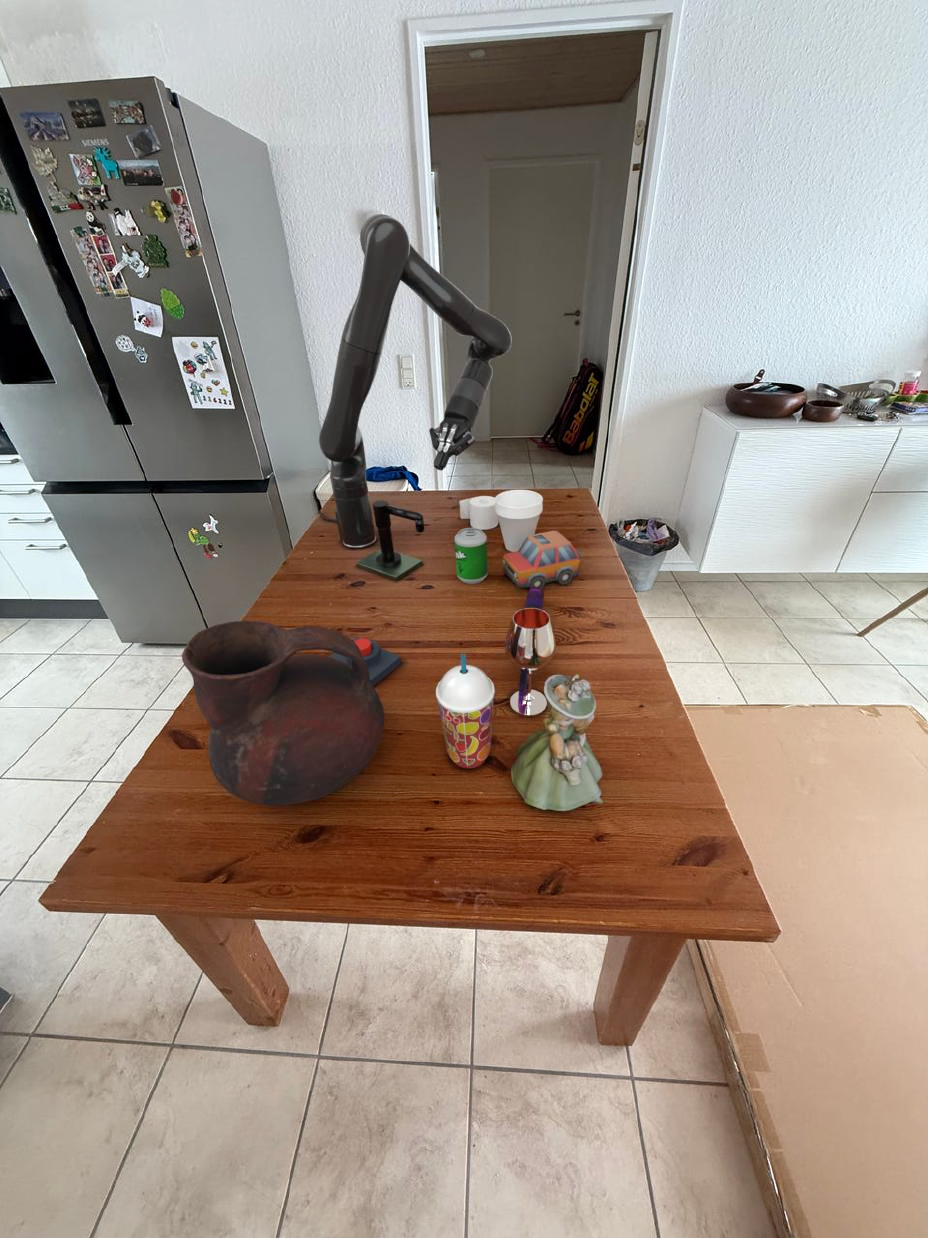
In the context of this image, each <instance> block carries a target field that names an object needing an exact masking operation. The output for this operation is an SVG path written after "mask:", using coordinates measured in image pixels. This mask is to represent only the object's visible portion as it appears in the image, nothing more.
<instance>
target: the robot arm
mask: <svg viewBox="0 0 928 1238" xmlns="http://www.w3.org/2000/svg"><path fill="white" fill-rule="evenodd" d="M359 232H360V234H359V241H360V247H361V251H362V252H363V253H362V254H363V255H364V257H363V266H362V274H361V277H360V278H361V279H360V285H359V289H358V293H357V296H356V298H355V301H354V303H353V305H352V307H351V310H350V312H349V314H348V317H347V318H346V322H345V324H344V326H343V329H342V334H341V337H340V338H341V339H340V343H339V347H338V353H337V359H336V365H335V369H334V376H333V383H332V390H331V396H330V401H329V405H328V408H327V411H326V414H325V417H324V420H323V423H322V426H321V429H320V432H319V435H318V445H319V448H320V451H321V453H322V454H323V456H324V457H325V458H326V459H327V460H329V461H330V472H329V480H330V485H331V490H332V494H333V499H334V504H335V508H336V509H335V510H334V514H335V518H330V517H326V516H324V514H323V512H322V510H319V511H318V512H317V514H318V515H319V516H320V517H321V518H322V519H323V520H325V521H330V522H336V524H337V529H338V533H339V538H340V542H341V543H342V544H343V546H344V547H346V548H347V549H353V550H354V549H355V550H356V549H357V550H359V549H364V548H368V547H371V546H372V545H374V544H375V543H376V542H377V535H376V529H375V527H376V523H375V521H374V515H373V511H372V510H373V509H372V506H371V505H372V504H371V499H370V491H369V488H368V481H367V460H366V452H365V446H364V445H365V444H364V438H363V433H362V431H361V428H360V426H359V420H360V416H361V412H362V409H363V406H364V404H365V401H366V399H367V397H368V395H369V393H370V391H371V389H372V386H373V384H374V381H375V378H376V376H377V373H378V369H379V365H380V362H381V358H382V356H383V351H384V346H385V340H386V336H387V333H388V327H389V323H390V317H391V311H392V307H393V304H394V301H395V297H396V294H397V292H398V289H399V285H400V283H401V282H402V283H404V285H405V286H407V287H408V288H409V289H410V290H411V291H413V292H414V293H415V294H416V295H417V296H418V297H419V298H420V299H421V300H422V301H423V302H424V303H425V304H426V305H427V307H428V308H430V309H431V310H432V311H433V312H434V313H435V315H436V316H437V317H439V318H440V319H441V320H442V321H443V322H444V323H445V324H447V326H448V327H450V328H451V330H453V331H454V332H456V333H457V334H458V335H460V336H461V337H471V339H470V340H469V344H468V349H467V353H466V360H465V366H464V368H463V370H462V373H461V375H460V377H459V380H458V382H457V383H456V385H455V387H454V388H453V391H452V394H451V395H450V398H449V400H448V403H447V405H446V407H445V410H444V414H443V420H442V421H441V422H440V423H439V426H438V427H436V428H434V427H430V428H429V430H428V431H429V436H430V440H431V444H432V448H433V449H434V451H436V452H437V453H436V455H435V458H434V461H433V467H434V468H435V469H436V470H437V471H444V469H446V467H447V465H448V462H449V460H450V458H452V456H455V457H458V456H459V455H461V454H462V453H463V452H465V451H466V450H467V449H468V448H470V446H472V445H474V443H476V439H475V438H474V435H472V434H471V432H472V428H473V426H474V425H475V423H476V420H477V417H478V415H479V413H480V410H481V408H482V406H483V403H484V400H485V396H486V394H487V391H488V388H489V386H490V383H491V381H492V378H493V375H494V370H493V367H492V365H491V364H490V362H491V361H492V360H493V359H495V358H498V357H502V356H504V355H505V354H508V352H509V351H510V350H511V347H512V344H513V338H512V333H511V331H510V330H509V328H508V327H507V325H506V324H505V323H504V322H503V321H502V320H500V319H499V318H497V317H496V316H494V315H492V314H490V313H489V312H487V311H485V310H484V309H482V308H479V307H478V306H477V305H475V303H474V302H473V301H472V300H471V299H470V298H469V297H468V296H467V295H465V294H464V292H462V291H461V290H460V289H459V288H458V287H457V286H456V285H455V284H454V283H452V282H451V281H450V280H449V279H447V278H446V277H445V276H444V275H442V274H441V273H440V272H439V271H438V270H436V269H435V268H434V267H433V266H431V264H429V263H428V262H427V261H426V260H425V258H423V257H422V256H421V254H420V253H418V251H417V250H416V249H415V248H414V246H413V245H412V244H411V243H410V237H409V234H408V231H407V230H406V228H405V227H404V225H403V224H402V223H401V222H400V221H399V220H397V219H396V218H394V217H392V216H391V215H388V214H385V213H384V214H383V213H377V214H373V215H371V216H369V217H368V218H367V219H365V221H364V222H363V223H362V225H361V228H360V231H359Z"/></svg>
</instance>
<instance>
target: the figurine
mask: <svg viewBox="0 0 928 1238" xmlns="http://www.w3.org/2000/svg"><path fill="white" fill-rule="evenodd" d="M543 692H544V693H543V694H544V696H545V698H546V700H547V709H548V712H549V714H547V715H546V716H545V718H544V719H542V723H543V725H544V728H542V729H538V730H537V731H535V732H533V733H532V734H530V735H529V736H528V737H527V738H526V739H525V740H524V741H522V743H521V744H520V745H519V747H517V749H516V752H515V754H516V760H515V761H514V762H513V763H512V765H511V767H510V777H511V781H512V783H513V785H514V787H515V788H516V790H517V791H518V793H519V794H520V795H521V797H522V799H523V800H524V802H525V804H527V805H529V806H532V807H535V808H537V809H539V810H544V811H545V810H552V811H556V812H567V811H568V812H569V811H572V810H575V809H578V808H579V807H582V806H585V805H587V804H588V803H591V802H592V803H594V804H598V805H603V802H604V801H603V799H602V798H601V795H602V789H601V788H600V787H599V785H598V782H599V781H600V780H601V778H602V777H603V774H604V773H603V771H602V767H601V764H600V763H599V761H598V759H597V758H596V756H595V754H594V752H593V750H592V748H591V745H590V743H589V742H588V741H587V735H586V732H584V731H585V730H587V729H588V728H589V726H590V724H591V723H592V722H593V721H594V719H595V715H594V713H595V710H596V708H597V702H596V699H595V695H594V694H593V692H592V691H591V684H590V682H589V681H588V680H587V679H584V678H582V679H580V675H579V674H578V673H576V674H574V675H572V676H570V675H566V674H565V675H564V674H552V675H551V676H550V675H549V677H548V678H547V679H546V680H545V681H544V686H543ZM581 733H582V734H581Z"/></svg>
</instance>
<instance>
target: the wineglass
mask: <svg viewBox="0 0 928 1238" xmlns="http://www.w3.org/2000/svg"><path fill="white" fill-rule="evenodd" d="M504 651H505V655H506V657H507V658H508V661H510V663H511V664H512V665H514V667H516V668H518V669H519V670H520V669H522V670H525V671H526V672H527V682H526V688H525V692H524V697H523V703H522V706H521V708H520V709H519V708H518V698H519V690H518V691H515V692H514V693H513V694H512V695H511V696H510V699H509V704H510V707H511V709H512V710H513V711H514V712H515V713H517V714H519V715H521V716H526V717H534V716H537V715H540V714H541V713H543V712H544V711H545V710H546V708H547V707H548V700H547V698H546V696H545V694H544V693H542V692H540V691H538V690H535V689H532V683H533V673H534V672H536V671H539V670H541V669H543V668H545V667H547V666H548V665H549V664H550V663H551V662H552V661H553V659H554V657H555V655H556V653H557V640H556V636H555V632H554V626H553V624H552V620H551V616H550V614H548V612H546V611H545V610H543V609H542V610H540V609H536V608H525V607H524V608H521V609H519V610H517V611H515V612H514V614H513V615H512V619H511V621H510V624H509V627H508V630H507V633H506V637H505V640H504Z"/></svg>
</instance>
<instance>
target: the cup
mask: <svg viewBox="0 0 928 1238" xmlns="http://www.w3.org/2000/svg"><path fill="white" fill-rule="evenodd" d="M494 498H495V512H496V513H497V516H498V525H499V528H500V530H501V535H502V539H503V543H504V547H505V549H506V550H507V551H508V552H510V553H512V552H517V551H518V550H519V549H520V547H521V546H522V544H523V543H524V541H525V540H526V538H527V537H528V536H530V535H534V534H536V531H537V526H538V523H539V520H540V516H541V514H542V512H543V509H544V507H543V506H544V505H543V504H544V503H543V501H544V497H543V496H542V495H541V494H540V493H538V492H536V491H533V490H529V489H510V490H505V491H503V492H500V493H498V494H497V495H496V496H495V497H494Z"/></svg>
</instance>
